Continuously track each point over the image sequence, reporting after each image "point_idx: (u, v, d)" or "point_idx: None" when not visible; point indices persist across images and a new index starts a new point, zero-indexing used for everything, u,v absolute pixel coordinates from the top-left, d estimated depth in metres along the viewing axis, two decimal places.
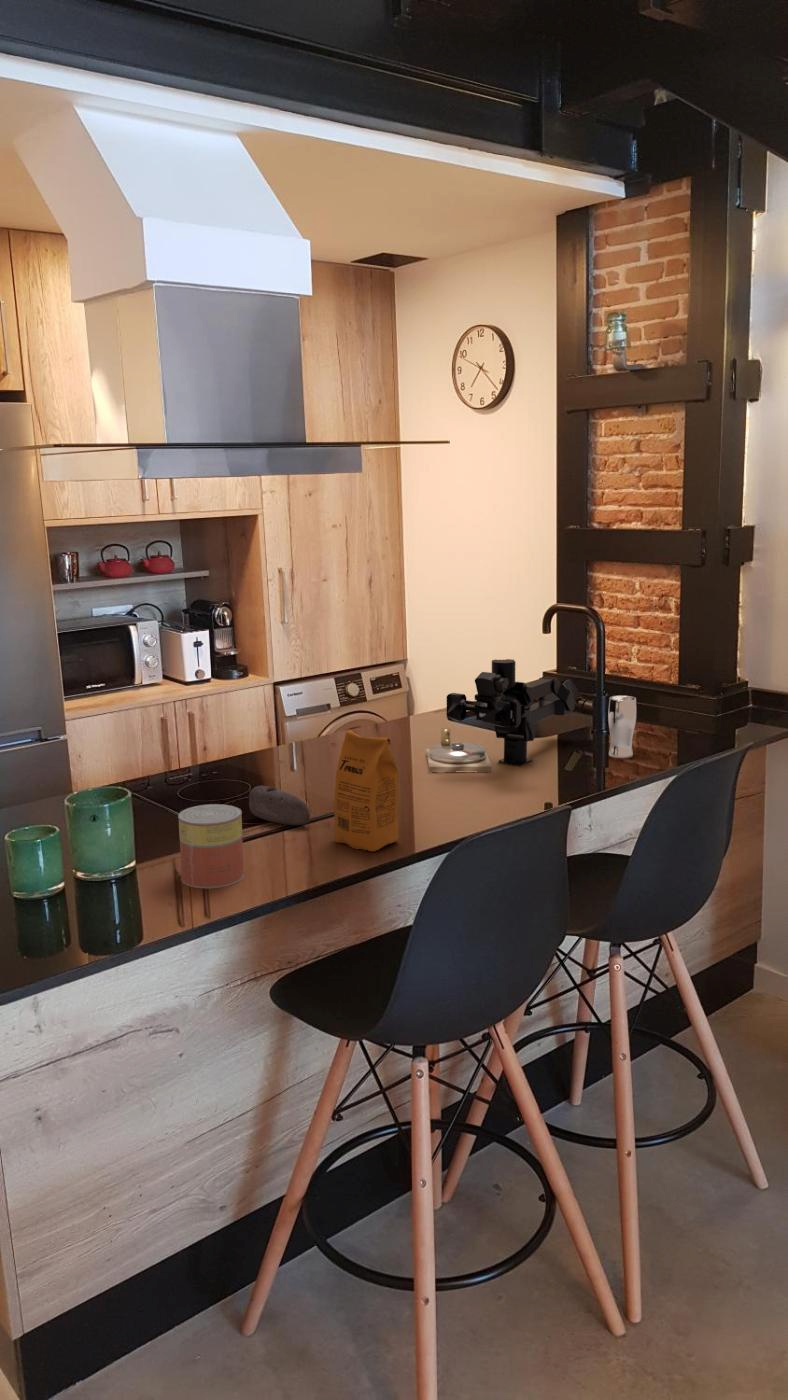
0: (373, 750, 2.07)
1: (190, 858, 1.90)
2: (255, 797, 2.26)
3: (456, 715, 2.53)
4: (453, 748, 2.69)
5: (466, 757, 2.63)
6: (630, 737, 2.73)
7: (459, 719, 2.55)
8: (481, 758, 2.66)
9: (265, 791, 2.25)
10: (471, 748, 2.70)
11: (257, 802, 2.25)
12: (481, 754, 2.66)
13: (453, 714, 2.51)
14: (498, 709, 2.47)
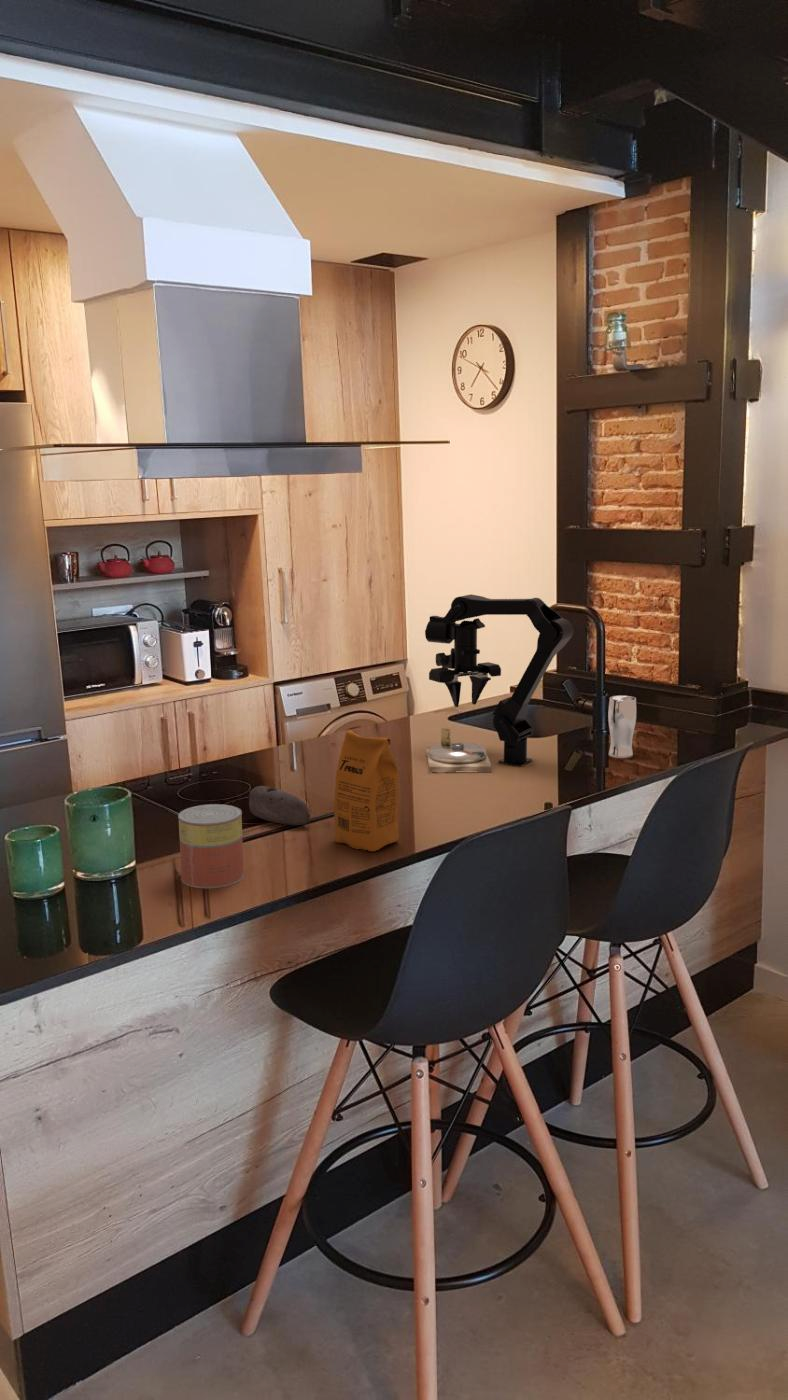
0: (373, 750, 2.07)
1: (190, 858, 1.90)
2: (255, 798, 2.26)
3: (476, 689, 2.75)
4: (453, 748, 2.69)
5: (466, 757, 2.63)
6: (630, 737, 2.73)
7: (480, 682, 2.74)
8: (481, 758, 2.66)
9: (265, 791, 2.25)
10: (471, 748, 2.70)
11: (257, 802, 2.25)
12: (481, 754, 2.66)
13: (474, 695, 2.76)
14: None
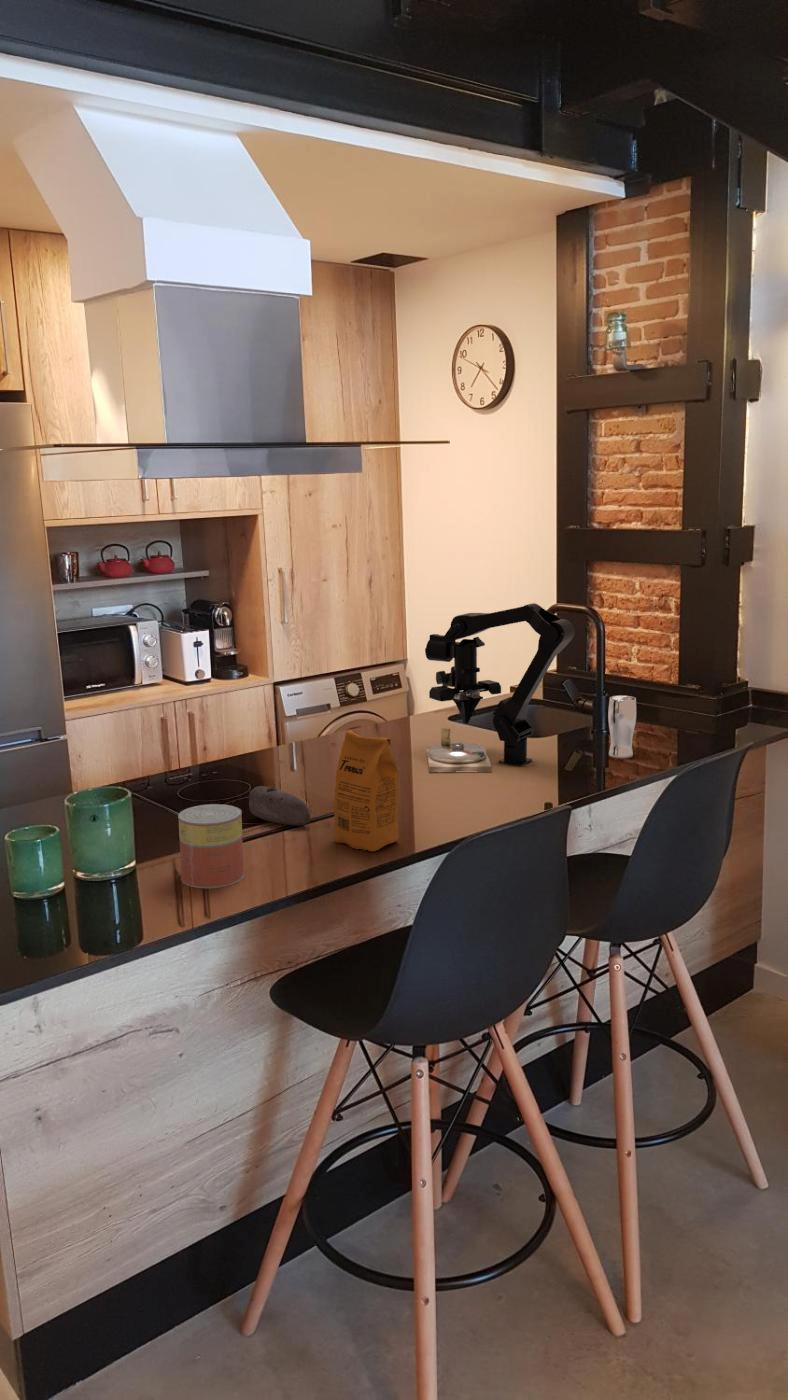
0: (373, 750, 2.07)
1: (190, 858, 1.90)
2: (255, 798, 2.26)
3: (469, 708, 2.75)
4: (453, 748, 2.69)
5: (466, 757, 2.63)
6: (630, 737, 2.73)
7: (473, 701, 2.73)
8: (481, 758, 2.66)
9: (265, 791, 2.25)
10: (471, 748, 2.70)
11: (257, 802, 2.25)
12: (481, 754, 2.66)
13: None
14: None
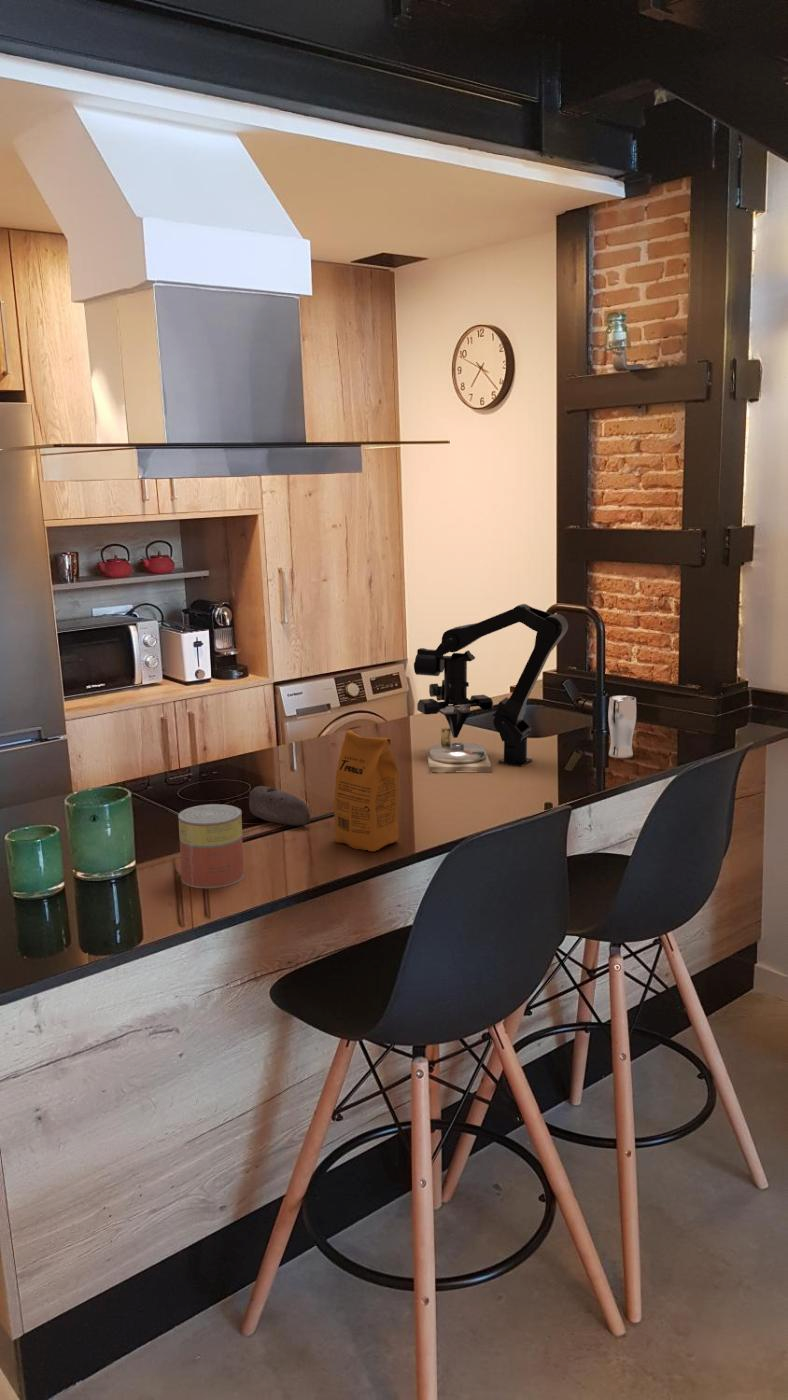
0: (373, 750, 2.07)
1: (190, 858, 1.90)
2: (255, 798, 2.26)
3: (458, 722, 2.74)
4: (453, 748, 2.69)
5: (466, 757, 2.63)
6: (630, 737, 2.73)
7: (461, 716, 2.72)
8: (481, 758, 2.66)
9: (265, 791, 2.25)
10: (471, 748, 2.70)
11: (257, 802, 2.25)
12: (481, 754, 2.66)
13: None
14: None
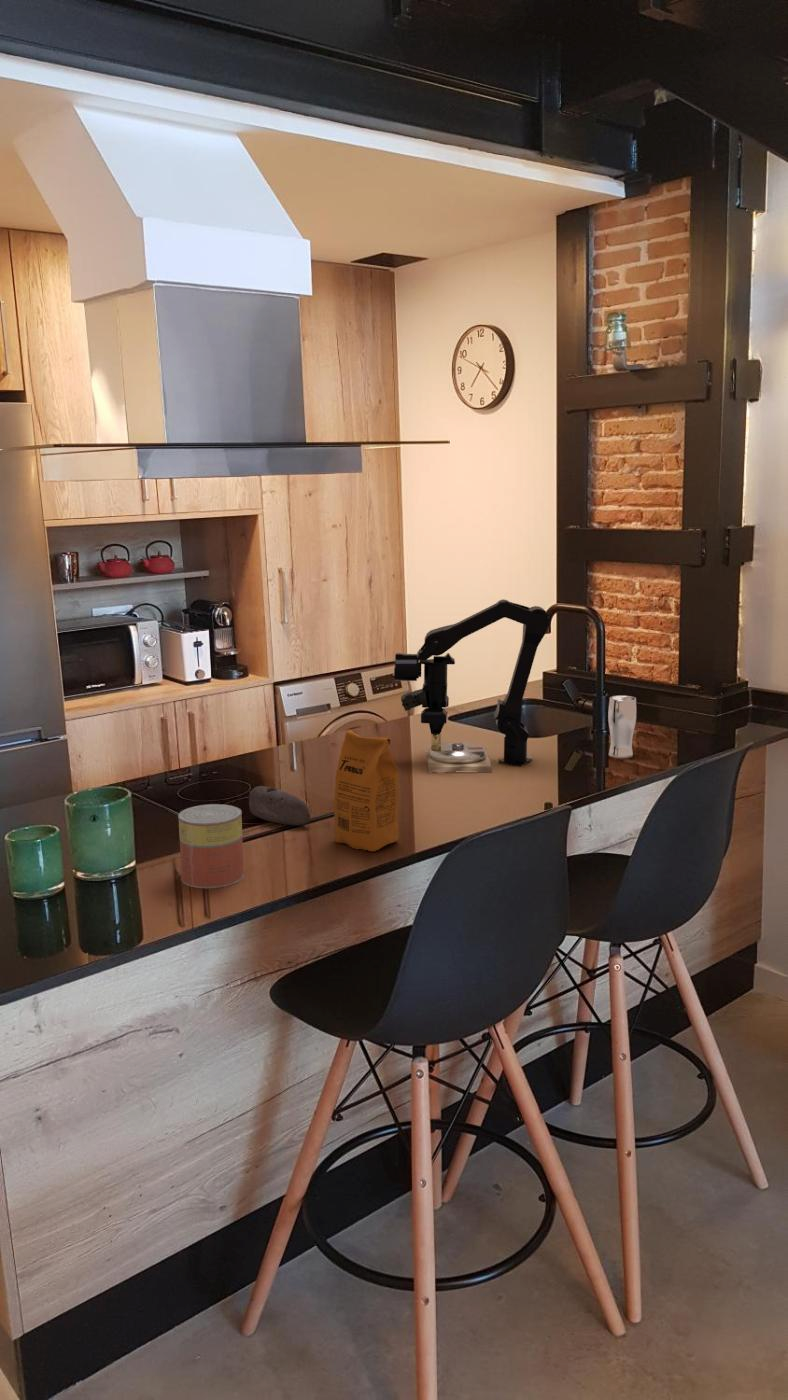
0: (373, 750, 2.07)
1: (190, 857, 1.90)
2: (255, 798, 2.26)
3: None
4: (459, 748, 2.68)
5: (485, 751, 2.69)
6: (630, 737, 2.73)
7: None
8: None
9: (265, 791, 2.25)
10: None
11: (257, 802, 2.25)
12: None
13: None
14: (429, 723, 2.69)
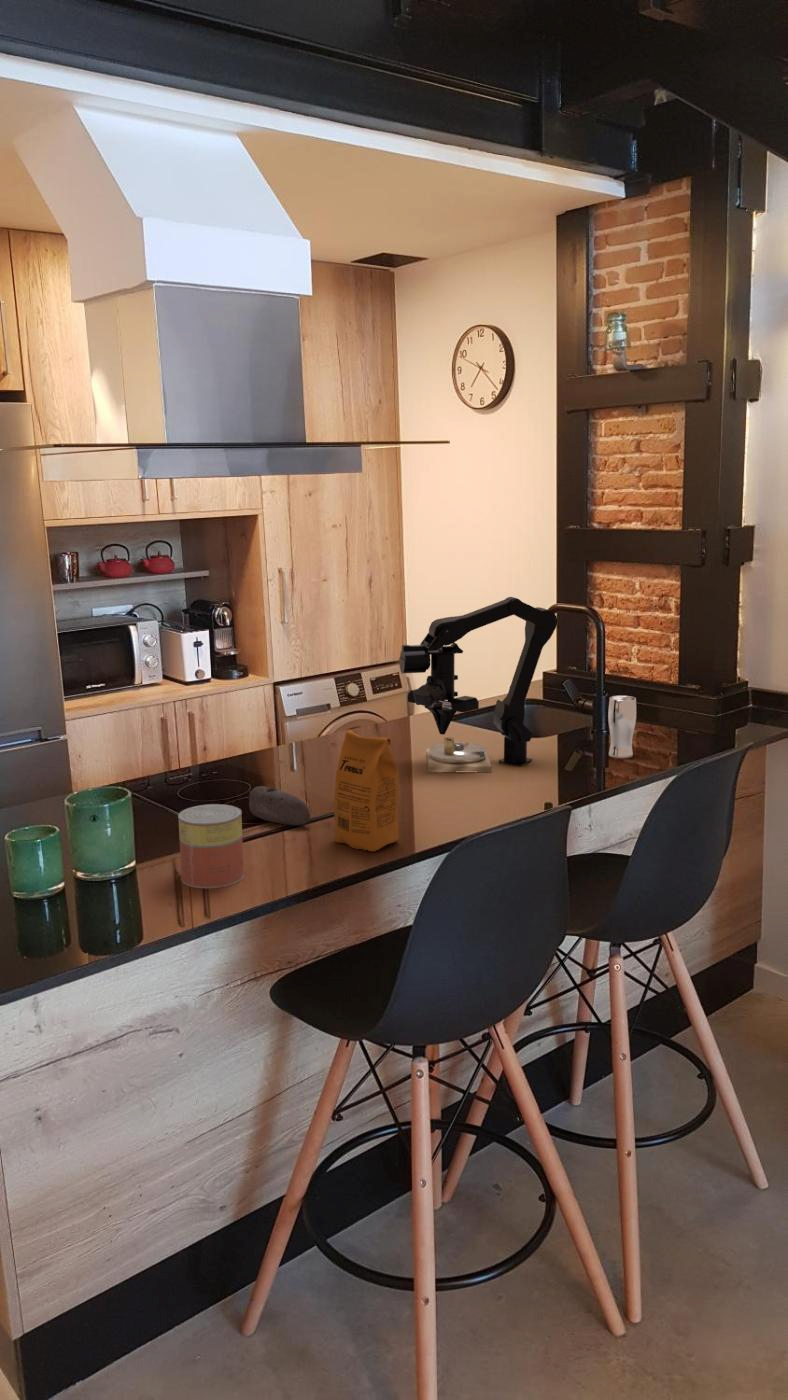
0: (373, 750, 2.07)
1: (190, 858, 1.90)
2: (255, 798, 2.26)
3: None
4: (463, 747, 2.69)
5: None
6: (630, 737, 2.73)
7: None
8: None
9: (265, 791, 2.25)
10: None
11: (257, 802, 2.25)
12: None
13: None
14: (443, 716, 2.62)
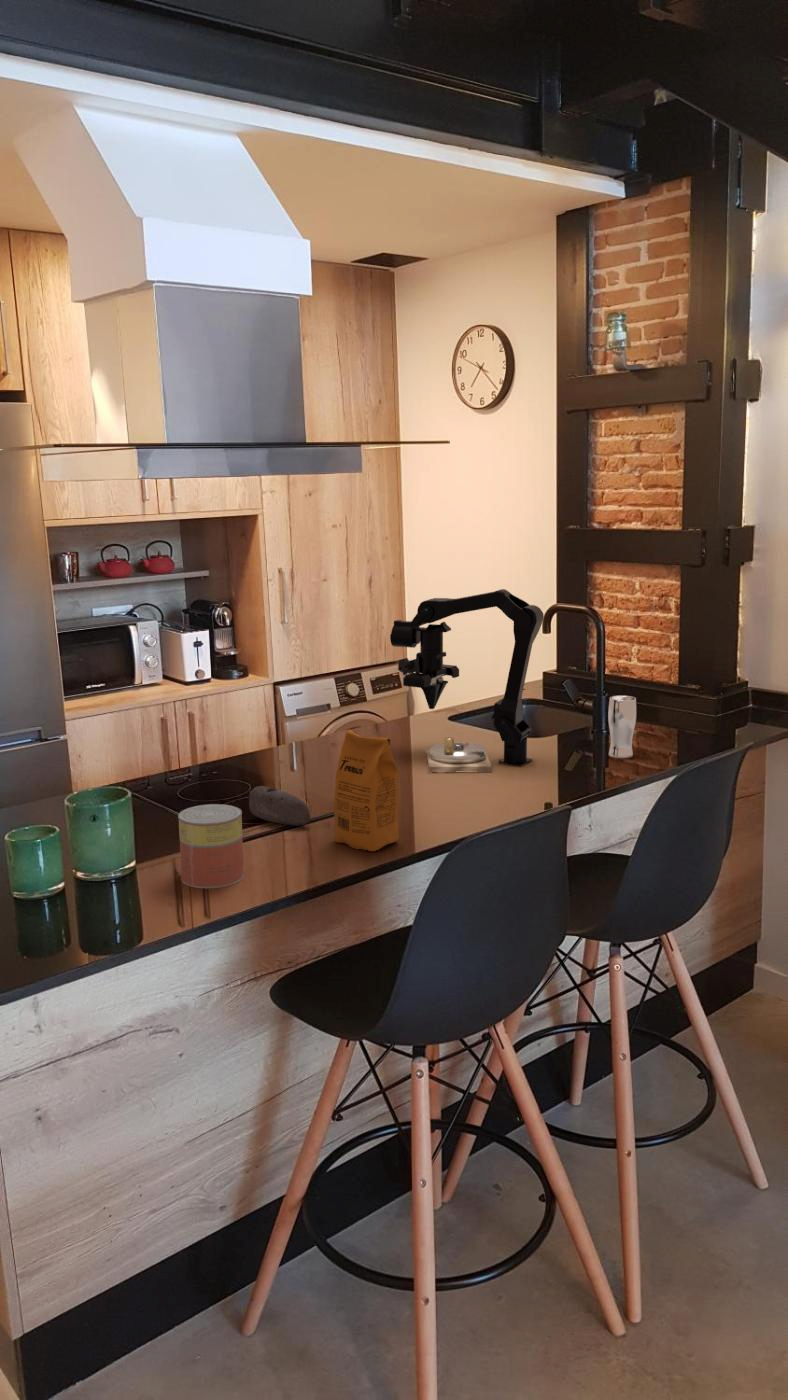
0: (373, 749, 2.07)
1: (190, 857, 1.90)
2: (255, 798, 2.26)
3: None
4: (463, 747, 2.69)
5: None
6: (630, 737, 2.73)
7: (441, 686, 2.75)
8: None
9: (265, 791, 2.25)
10: None
11: (257, 802, 2.25)
12: None
13: None
14: None
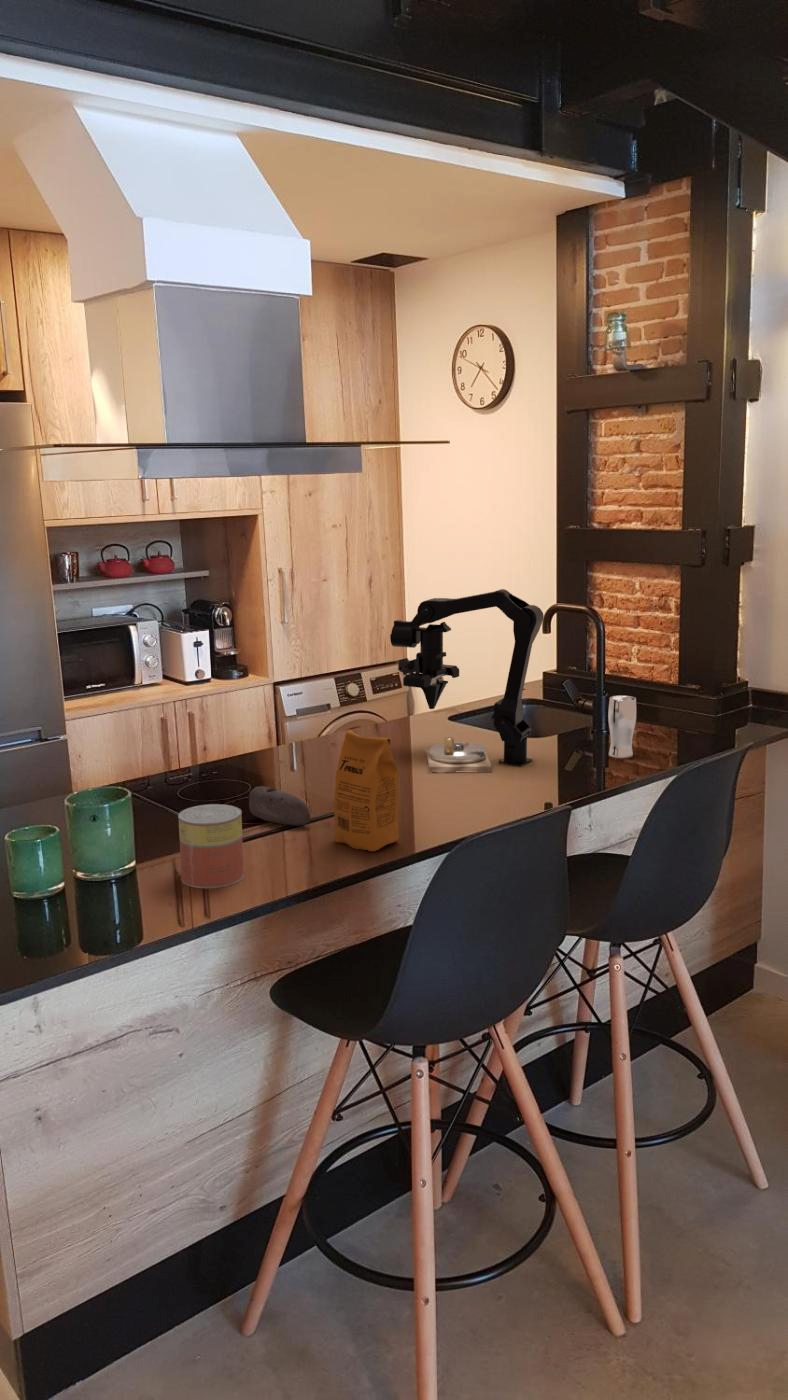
0: (373, 750, 2.07)
1: (190, 858, 1.90)
2: (255, 798, 2.26)
3: None
4: (463, 747, 2.69)
5: None
6: (630, 737, 2.73)
7: (441, 686, 2.75)
8: None
9: (265, 792, 2.25)
10: None
11: (257, 803, 2.25)
12: None
13: None
14: None
